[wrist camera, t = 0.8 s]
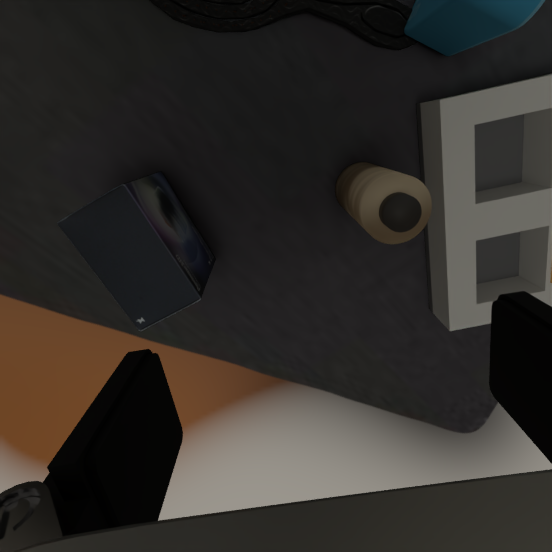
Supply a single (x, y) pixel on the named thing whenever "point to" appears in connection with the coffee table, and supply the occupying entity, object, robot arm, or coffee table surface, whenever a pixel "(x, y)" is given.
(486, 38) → the data package
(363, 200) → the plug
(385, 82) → the coffee table surface
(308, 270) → the coffee table surface
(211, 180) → the coffee table surface
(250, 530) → the robot arm
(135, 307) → the small box
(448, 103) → the socket block
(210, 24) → the hairbrush
